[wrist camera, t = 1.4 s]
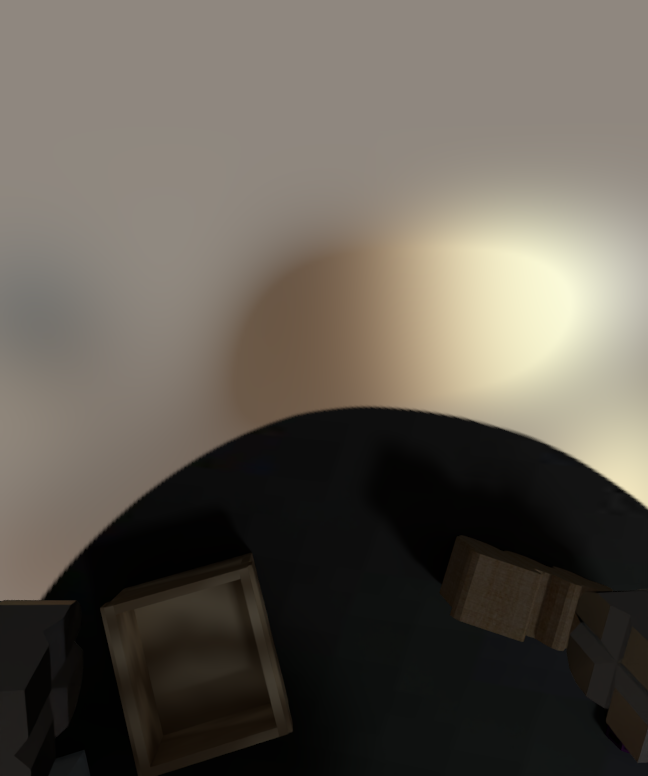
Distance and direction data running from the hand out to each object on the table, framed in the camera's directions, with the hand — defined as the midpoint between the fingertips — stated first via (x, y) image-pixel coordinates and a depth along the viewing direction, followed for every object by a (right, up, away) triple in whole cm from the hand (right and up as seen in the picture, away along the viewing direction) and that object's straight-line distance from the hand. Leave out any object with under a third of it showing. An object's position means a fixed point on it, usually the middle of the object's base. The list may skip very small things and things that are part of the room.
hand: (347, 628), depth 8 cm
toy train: (+18, -16, +42) cm, 48 cm away
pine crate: (-12, -21, +39) cm, 46 cm away
